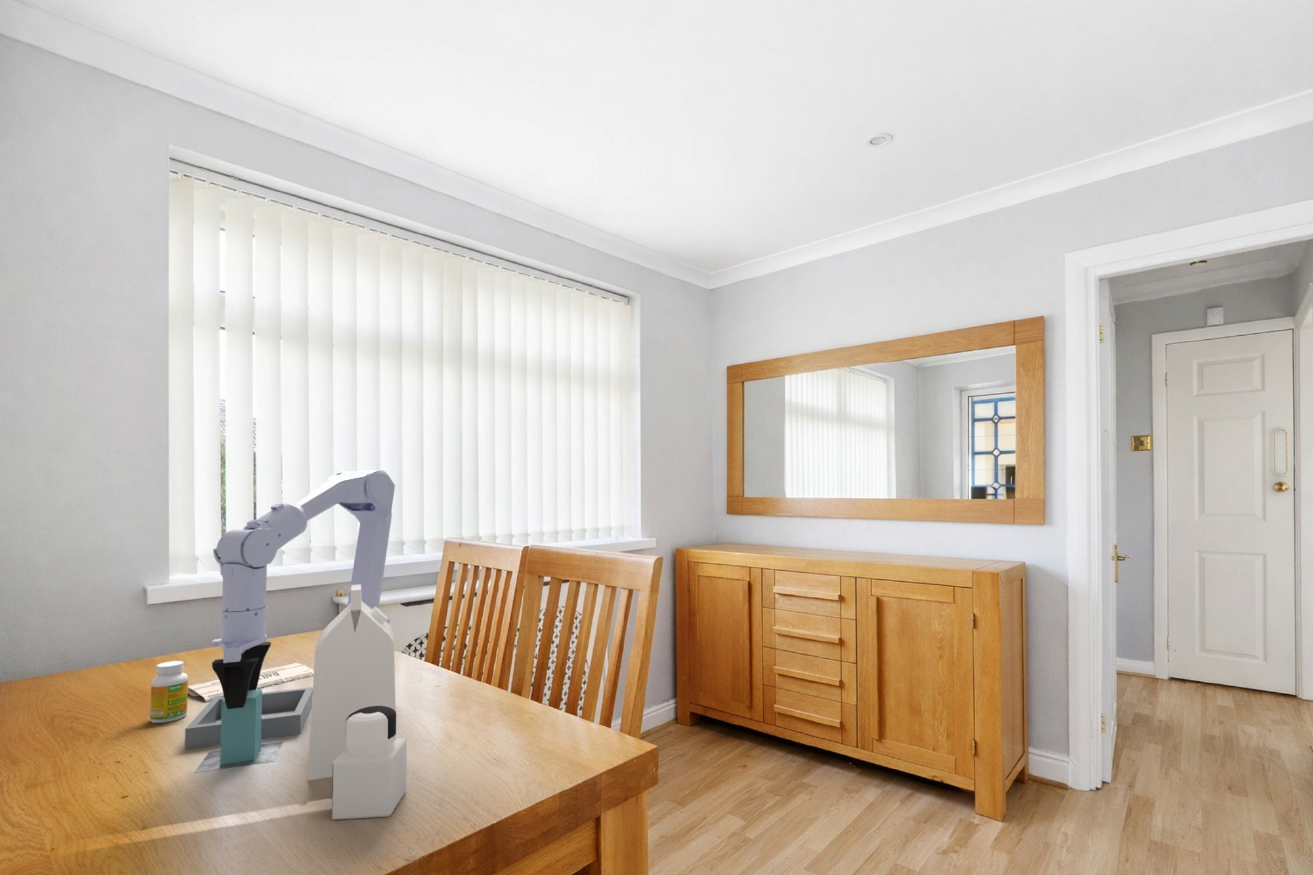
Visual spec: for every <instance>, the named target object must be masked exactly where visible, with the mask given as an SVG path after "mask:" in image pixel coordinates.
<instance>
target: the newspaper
mask: <svg viewBox="0 0 1313 875" xmlns="http://www.w3.org/2000/svg"><path fill="white" fill-rule="evenodd" d="M310 675H314V669H312V668H310V667H309V666H307V665H305V664H301V663H299V662H295V663H290V664H285V665H281V666H277V667H271V668H266V669H261V672H260V676H259V681H258V685H257V688H256V689H258V690H259V689H261V688H262V689H265V688H264V687H266V688H269V686H270V687H273V686H272V685H274V686H277V684H278V685H280V684H279V683H282V684H285V682H286V683H288V682H287V681H290V682H292V680H294V681H296V680H295V679H298V680H301V679H300V678H302V677H306V678H309V677H308V676H310ZM310 677H311V676H310ZM302 679H303V678H302ZM188 694H189V695H190V696H191V697H198V696H201V697H202V698H203V699H204V702H205V703H209V702H210V701H211V700H212V699H213V698H219V697H224V694H223V690H222V686H221V683H220V680H219V679H215V680H211V681H206V682H202V683H201V682H200V683H195V684H190V685H188Z"/></svg>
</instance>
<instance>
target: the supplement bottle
mask: <svg viewBox="0 0 1313 875" xmlns="http://www.w3.org/2000/svg"><path fill="white" fill-rule="evenodd" d="M184 664H185V663H184V661H182V660H172V661H165V662H162V663H158V664H157V665H156V669H155V670H156V671H155V672H156V674H157V676H156V677H154V678H153V679H152V680H151V684H150V712H149V713H150V714H149V721H150V722H151V723H152V724H165V723H172V722H175V721H179V720H181V719H183V718H185V717H186V716H187V714H188V694H189V693H188V686H189V685H188V684H189V676H188V675H187V673H184V672H183V670H184V666H185V665H184Z"/></svg>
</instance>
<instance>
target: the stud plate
mask: <svg viewBox="0 0 1313 875" xmlns="http://www.w3.org/2000/svg"><path fill="white" fill-rule="evenodd" d="M283 744H284V741H279V742H272V743H271V742H270V743H264V744H261V749H260V751H259V753H258V755H257V756H256V758H255V760H248V761H241V762H234V763H227V764H220V750H221V749H220V750H214V751H209V752H208V753H207V755H206V756H205V757H204V758H203V760H202V761H201V762H200V764H199V765H198V767H197V768H196V769H195V771H194V772H193V773H194V774H199V773H203V772H204V773H205V772H211V771H216V770H224V769H232V768H240V767H245V766H252V765H258V764H259V765H260V764H266V763H267V764H268V763H273V762H275V761H276V758H277V756H278V755H279V752H280V750H281V749H282V746H283Z"/></svg>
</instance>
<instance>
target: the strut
mask: <svg viewBox="0 0 1313 875" xmlns="http://www.w3.org/2000/svg"><path fill="white" fill-rule="evenodd" d="M262 693H263V688H262V689H258V690H250V691H248V695H247V699H246V703H245V706H244V707H243V708H234V709H227V706H226V703H225V699H223V700H222V709H221V720H220V722H221V744H220V764H227V763H234V762H241V761H248V760H255V758H256V756H257V755H258V753H259V751H260V749H261V745H262V739H261V717H263V715H262Z"/></svg>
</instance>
